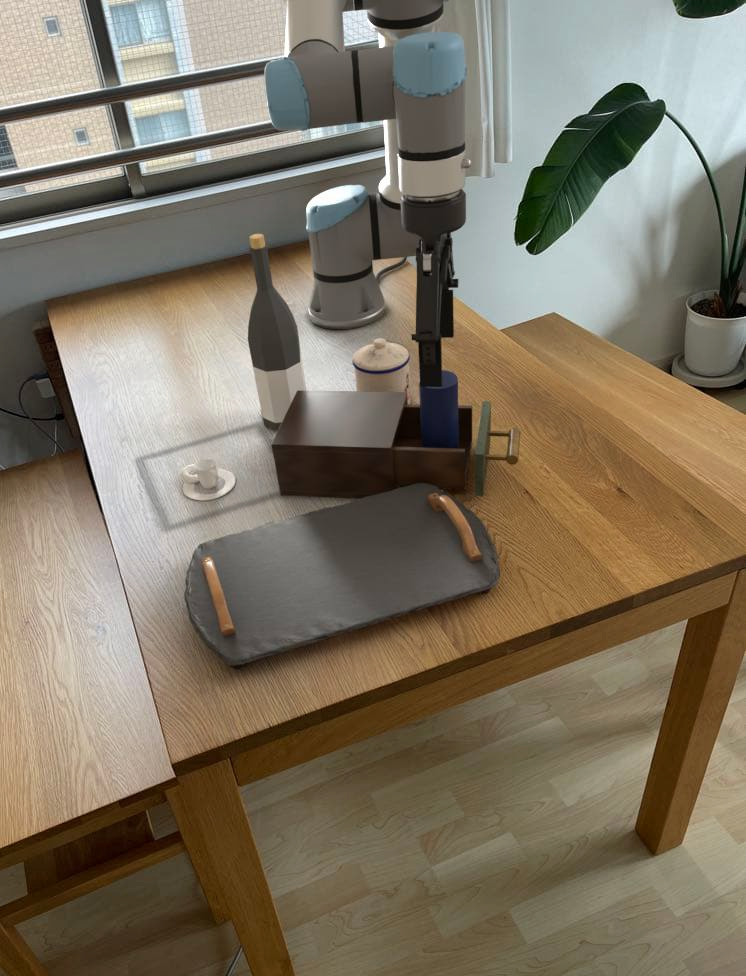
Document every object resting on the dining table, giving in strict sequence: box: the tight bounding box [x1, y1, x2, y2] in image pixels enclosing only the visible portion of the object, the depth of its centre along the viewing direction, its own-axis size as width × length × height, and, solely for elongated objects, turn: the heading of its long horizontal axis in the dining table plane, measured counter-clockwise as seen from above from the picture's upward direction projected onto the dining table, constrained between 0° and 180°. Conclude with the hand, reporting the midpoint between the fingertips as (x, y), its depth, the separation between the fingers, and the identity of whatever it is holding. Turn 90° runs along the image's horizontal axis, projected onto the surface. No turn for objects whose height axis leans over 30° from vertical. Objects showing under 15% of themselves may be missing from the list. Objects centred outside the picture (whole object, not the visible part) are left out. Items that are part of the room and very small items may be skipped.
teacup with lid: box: [351, 337, 411, 404], centre depth 132 cm, size 12×9×12 cm
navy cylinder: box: [418, 369, 459, 449], centre depth 113 cm, size 5×5×13 cm
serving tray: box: [183, 483, 501, 671], centre depth 101 cm, size 39×23×6 cm, turn 108°
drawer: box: [392, 400, 521, 497], centre depth 116 cm, size 20×14×7 cm
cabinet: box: [270, 390, 408, 500], centre depth 119 cm, size 17×15×9 cm
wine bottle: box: [247, 233, 307, 432], centre depth 125 cm, size 8×8×30 cm
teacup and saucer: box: [180, 457, 237, 502], centre depth 121 cm, size 9×8×4 cm
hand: (437, 360), depth 107 cm, fingers open, 13 cm apart
